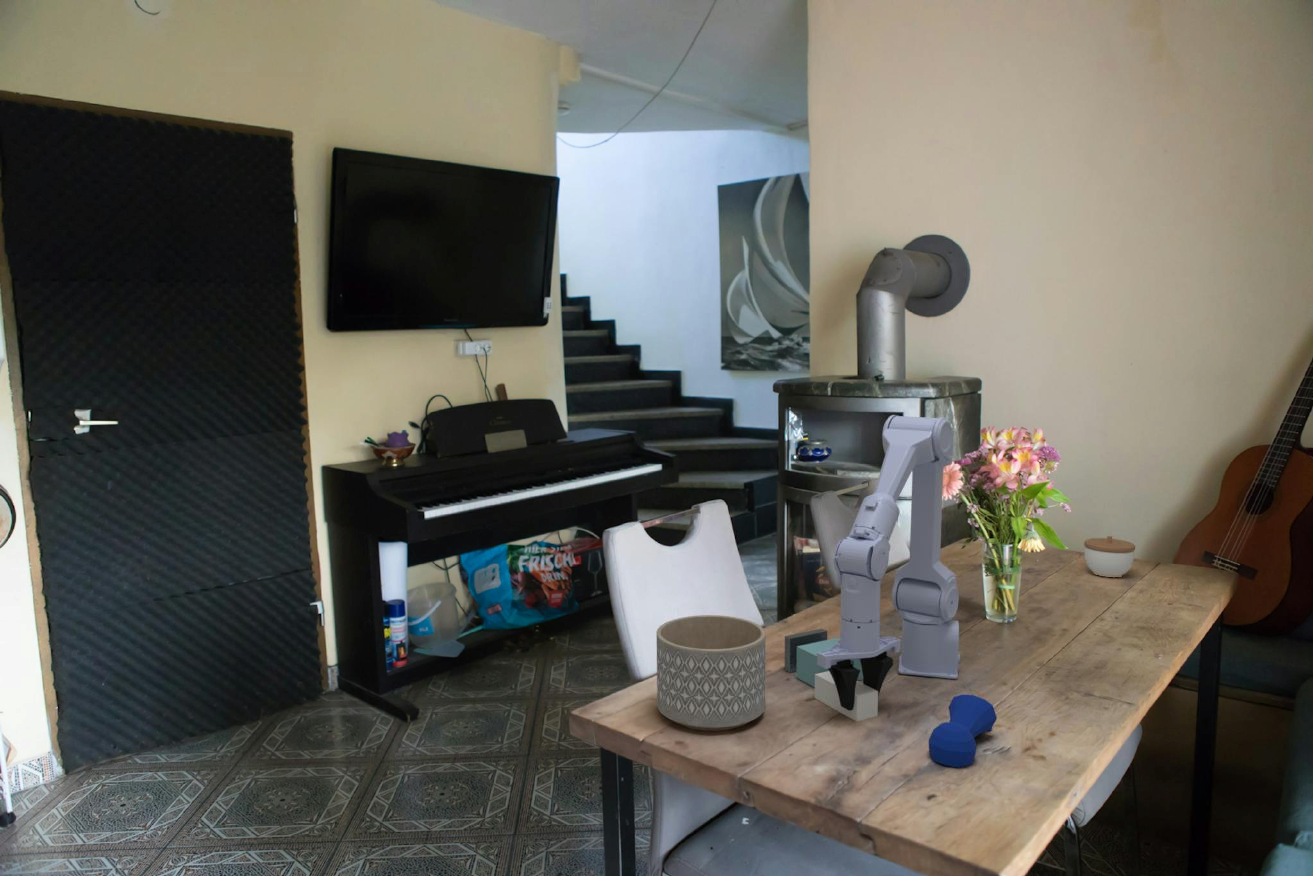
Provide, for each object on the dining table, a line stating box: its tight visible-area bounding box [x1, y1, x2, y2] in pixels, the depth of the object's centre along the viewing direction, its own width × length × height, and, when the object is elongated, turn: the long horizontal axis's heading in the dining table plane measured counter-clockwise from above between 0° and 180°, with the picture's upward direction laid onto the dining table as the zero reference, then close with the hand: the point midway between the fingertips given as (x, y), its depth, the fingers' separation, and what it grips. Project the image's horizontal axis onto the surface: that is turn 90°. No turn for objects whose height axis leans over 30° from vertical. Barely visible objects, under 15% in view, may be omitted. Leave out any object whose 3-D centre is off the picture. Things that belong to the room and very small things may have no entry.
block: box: [796, 637, 863, 688], centre depth 148 cm, size 6×9×5 cm, turn 118°
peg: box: [814, 671, 879, 723], centre depth 137 cm, size 10×4×4 cm, turn 28°
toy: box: [928, 694, 998, 768], centre depth 123 cm, size 7×6×15 cm
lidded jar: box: [1083, 535, 1136, 575], centre depth 210 cm, size 11×11×9 cm
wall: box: [784, 628, 828, 674], centre depth 153 cm, size 2×8×6 cm, turn 118°
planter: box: [656, 614, 766, 732], centre depth 135 cm, size 16×16×13 cm
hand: (858, 704), depth 134 cm, fingers closed on peg, 4 cm apart
